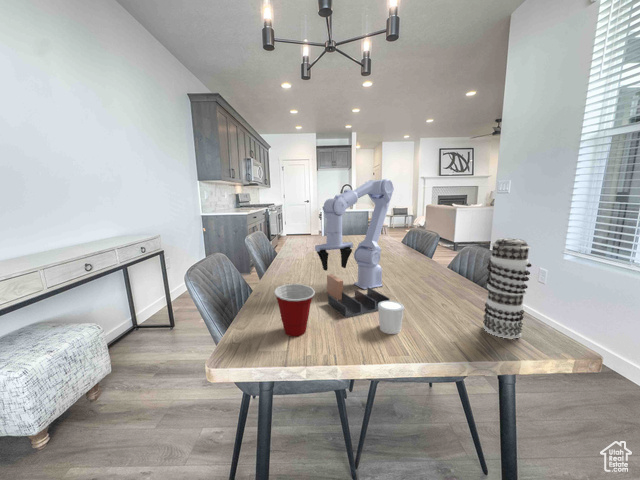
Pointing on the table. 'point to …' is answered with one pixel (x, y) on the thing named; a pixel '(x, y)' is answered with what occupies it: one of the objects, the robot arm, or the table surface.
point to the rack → (357, 303)
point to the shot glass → (390, 316)
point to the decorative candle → (506, 287)
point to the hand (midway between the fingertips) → (334, 268)
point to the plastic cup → (294, 307)
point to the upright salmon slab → (334, 286)
